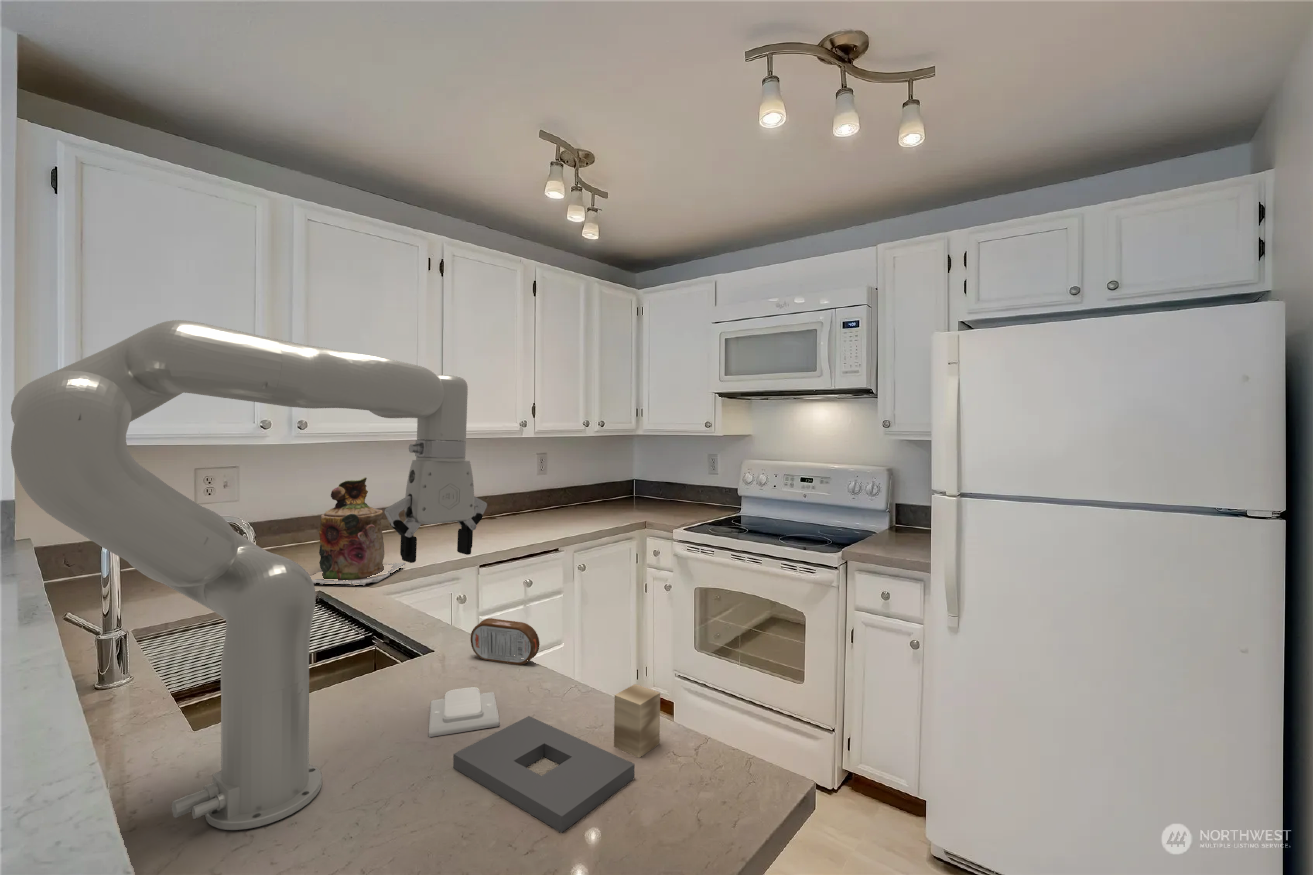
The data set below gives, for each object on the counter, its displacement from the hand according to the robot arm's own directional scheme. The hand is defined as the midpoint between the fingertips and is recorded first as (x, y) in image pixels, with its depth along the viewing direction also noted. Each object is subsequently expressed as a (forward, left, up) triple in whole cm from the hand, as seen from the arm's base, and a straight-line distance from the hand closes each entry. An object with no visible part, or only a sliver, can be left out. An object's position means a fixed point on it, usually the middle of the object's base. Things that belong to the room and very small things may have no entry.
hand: (437, 557), depth 95 cm
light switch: (+5, 0, -29) cm, 29 cm away
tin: (+24, +13, -28) cm, 39 cm away
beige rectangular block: (+16, -29, -28) cm, 43 cm away
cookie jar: (+37, +105, -28) cm, 115 cm away
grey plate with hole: (+2, -23, -28) cm, 36 cm away
